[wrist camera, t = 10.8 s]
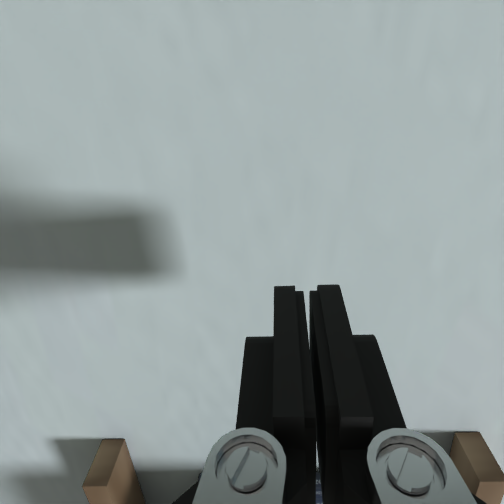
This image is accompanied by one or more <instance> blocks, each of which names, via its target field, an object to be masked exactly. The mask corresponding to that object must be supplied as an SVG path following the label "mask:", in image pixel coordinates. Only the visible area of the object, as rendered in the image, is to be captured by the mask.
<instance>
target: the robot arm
mask: <svg viewBox="0 0 504 504" xmlns="http://www.w3.org/2000/svg"><path fill="white" fill-rule="evenodd" d="M309 298H310V349H309V340H308V331H307V321H306V312H305V302H304V293H303V291H295V286H274V336H271V337H246V341H245V349H244V358H243V367H242V376H241V386H240V395H239V404H238V413H237V422H236V430H233V431H230V432H229V433H227V434H226V435H224V436H222V437H221V438H220V439H219V440H218V441H217V442H216V443H215V444H214V445H213V447H212V449H211V451H210V453H209V455H208V457H207V460H206V463H205V466H204V469H203V472H202V475H201V478H200V480H199V481H198V482H197V483H196V484H195V485H193V486H192V487H191V488H190V489H189V490H187V491H186V492H185V493H184V494H183V495H182V496H180V497H179V498H178V499H177V500H176V501H175V502H173V503H172V504H316V441H317V451H318V461H319V471H320V481H321V491H322V501H323V504H487V503H485V502H484V501H483V500H481V499H480V498H478V497H477V496H475V495H474V494H473V493H471V492H470V491H469V489H468V487H467V485H466V484H465V482H464V480H463V479H462V477H461V475H460V473H459V472H458V470H457V468H456V467H455V465H454V463H453V461H452V460H451V458H450V457H449V456H448V454H447V453H446V452H445V450H444V449H443V448H442V447H441V446H440V445H439V444H437V443H436V442H435V441H434V440H433V439H431V438H430V437H428V436H426V435H424V434H422V433H420V432H418V431H414V430H410V429H407V428H406V425H405V422H404V419H403V416H402V413H401V410H400V407H399V404H398V402H397V399H396V396H395V393H394V390H393V387H392V384H391V381H390V378H389V375H388V372H387V369H386V366H385V363H384V360H383V357H382V354H381V351H380V348H379V345H378V343H377V340H376V338H375V336H374V335H352V331H351V328H350V324H349V320H348V316H347V312H346V308H345V305H344V301H343V297H342V293H341V289H340V286H339V285H318V286H317V291H310V296H309Z"/></svg>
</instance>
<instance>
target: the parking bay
mask: <svg viewBox="0 0 504 504" xmlns="http://www.w3.org/2000/svg"><path fill="white" fill-rule="evenodd" d="M449 457H450V458H451V460H452V461H453V463H454V465H455V467H456V468H457V470H458V472H459V473H460V475H461V477H462V479H463V480H464V482H465V484H466V485H467V487H468V489H469V491H470V492H471V493H473V494H474V495H475V496H477V497H478V498H480V499H481V500H483V501H484V502H485V503H487V504H500V503H501V500H502V497H503V495H504V473H503V472H502V470H501V468H500V466H499V465H498V463H497V461H496V460H495V458H494V456H493V454H492V453H491V451H490V449H489V447H488V446H487V444H486V442H485V441H484V439H483V437H482V435H481V434H480V432H461V433H455V434H454V439H453V443H452V447H451V451H450V455H449ZM82 487H83V490H84V492H85V494H86V496H87V499H88V501H89V503H90V504H146V503H145V500H144V497H143V494H142V491H141V488H140V485H139V482H138V479H137V475H136V472H135V469H134V466H133V463H132V460H131V457H130V454H129V451H128V448H127V445H126V442H125V439H107V440H102V442H101V444H100V447H99V449H98V451H97V454H96V456H95V458H94V460H93V463H92V465H91V467H90V470H89V472H88V474H87V477H86V479H85V481H84V483H83V486H82Z"/></svg>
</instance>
